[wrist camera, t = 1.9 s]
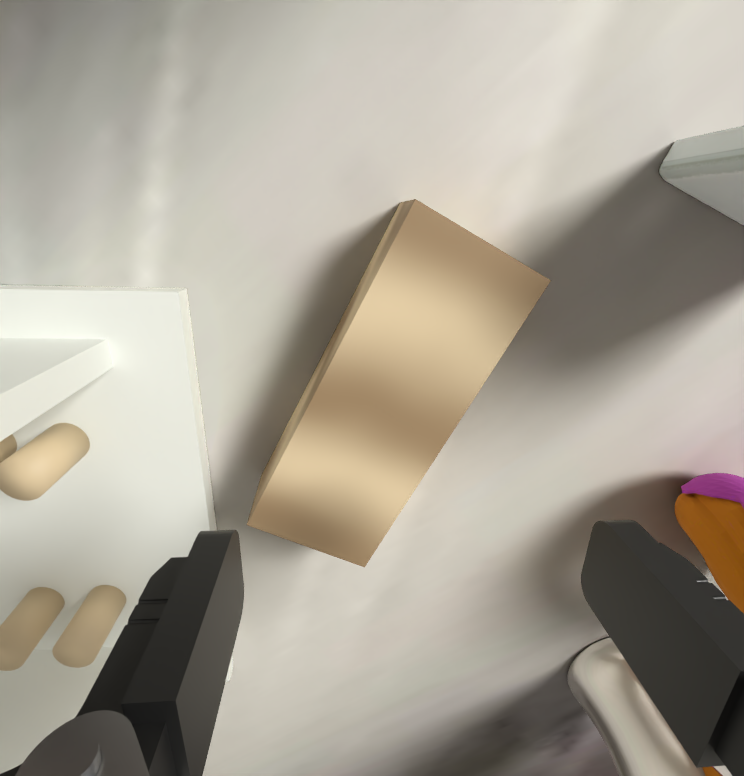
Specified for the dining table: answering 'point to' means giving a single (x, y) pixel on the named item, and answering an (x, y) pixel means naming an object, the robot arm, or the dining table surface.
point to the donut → (717, 528)
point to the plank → (392, 383)
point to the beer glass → (628, 716)
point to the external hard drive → (710, 170)
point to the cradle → (88, 484)
